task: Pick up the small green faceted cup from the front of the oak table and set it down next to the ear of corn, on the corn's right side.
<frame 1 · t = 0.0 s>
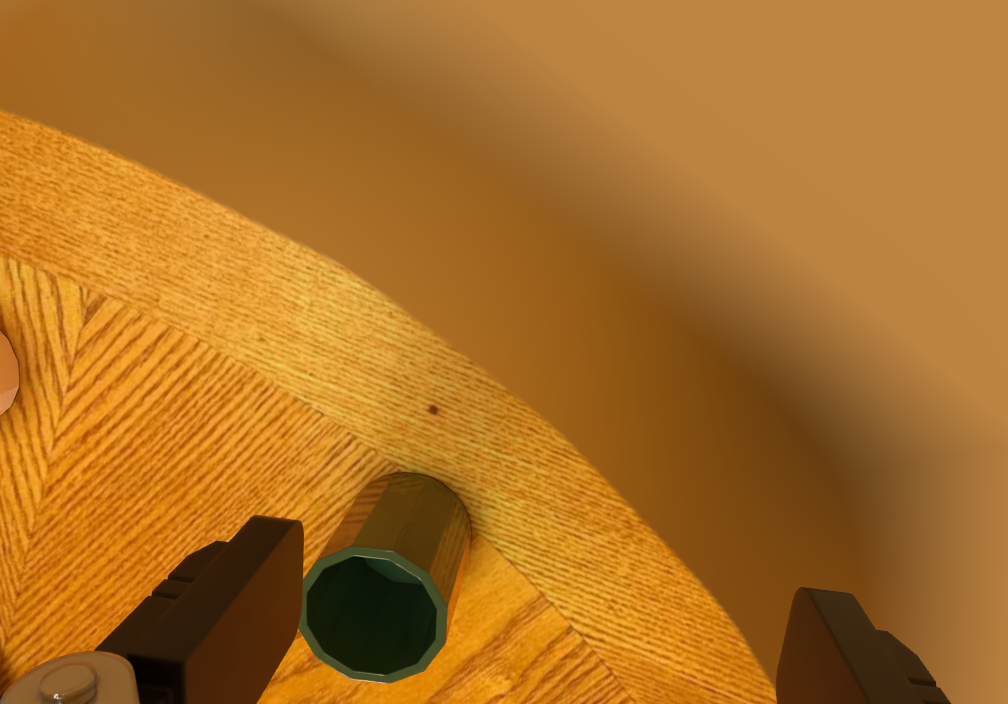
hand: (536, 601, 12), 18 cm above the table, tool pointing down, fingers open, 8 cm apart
green faceted cup: (410, 529, 32), on the table
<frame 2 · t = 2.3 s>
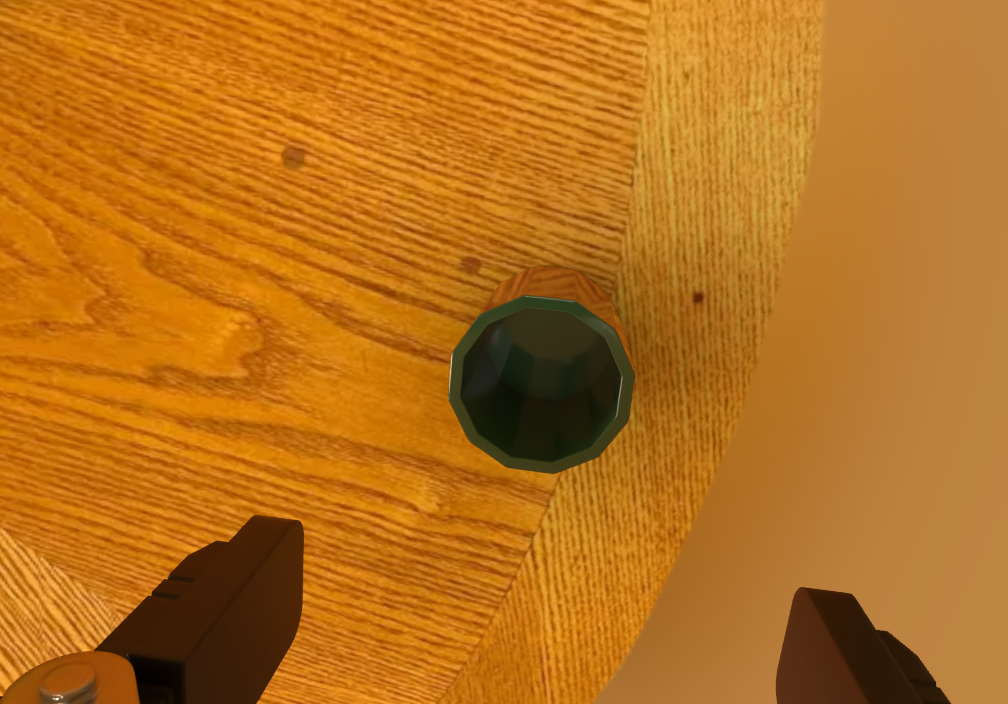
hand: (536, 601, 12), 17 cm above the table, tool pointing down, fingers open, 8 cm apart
green faceted cup: (549, 337, 28), on the table
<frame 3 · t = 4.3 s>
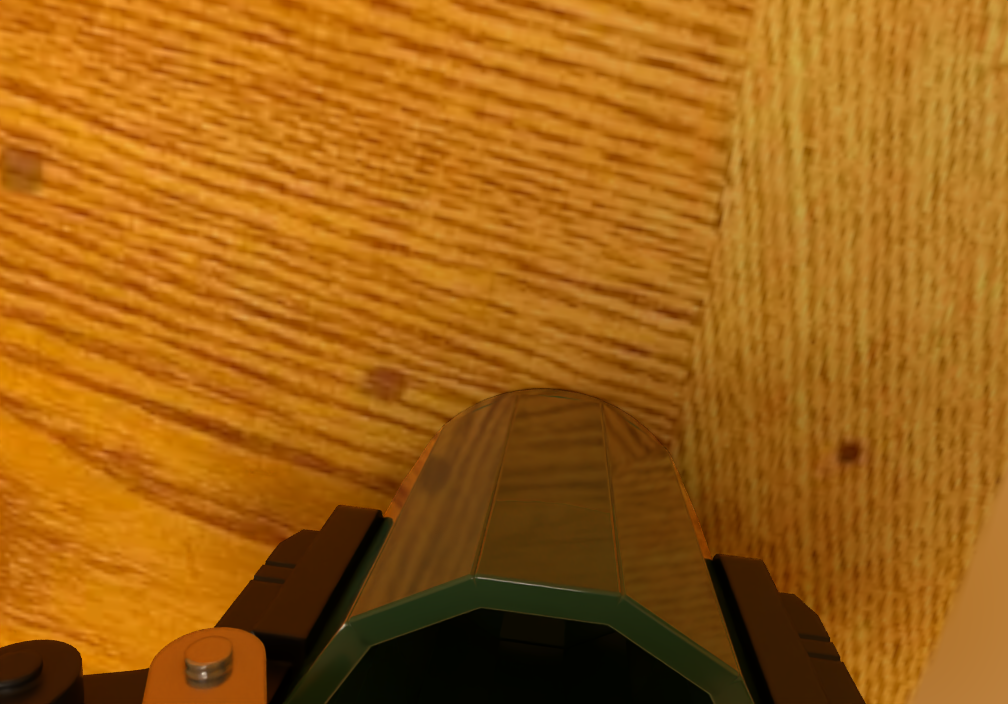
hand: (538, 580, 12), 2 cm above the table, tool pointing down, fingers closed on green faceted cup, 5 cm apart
green faceted cup: (544, 523, 14), on the table, touching gripper
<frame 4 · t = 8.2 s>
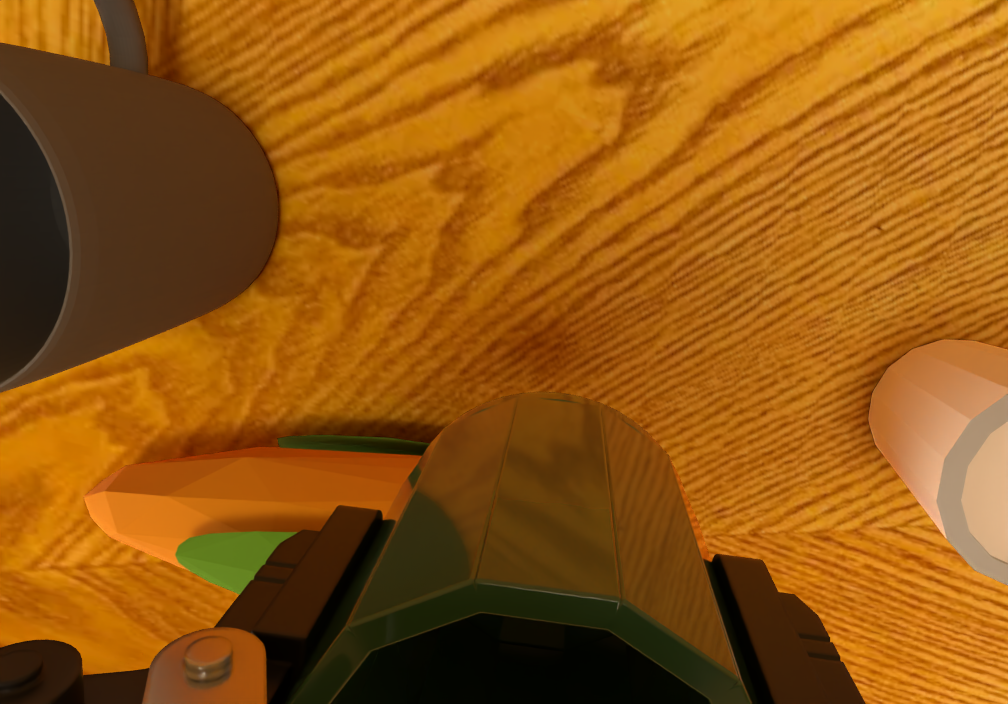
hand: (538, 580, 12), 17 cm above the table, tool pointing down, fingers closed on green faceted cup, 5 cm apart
mug: (177, 143, 28), on the table
green faceted cup: (544, 525, 14), point 15 cm above the table, touching gripper
corn: (361, 495, 31), on the table
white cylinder: (942, 408, 28), on the table
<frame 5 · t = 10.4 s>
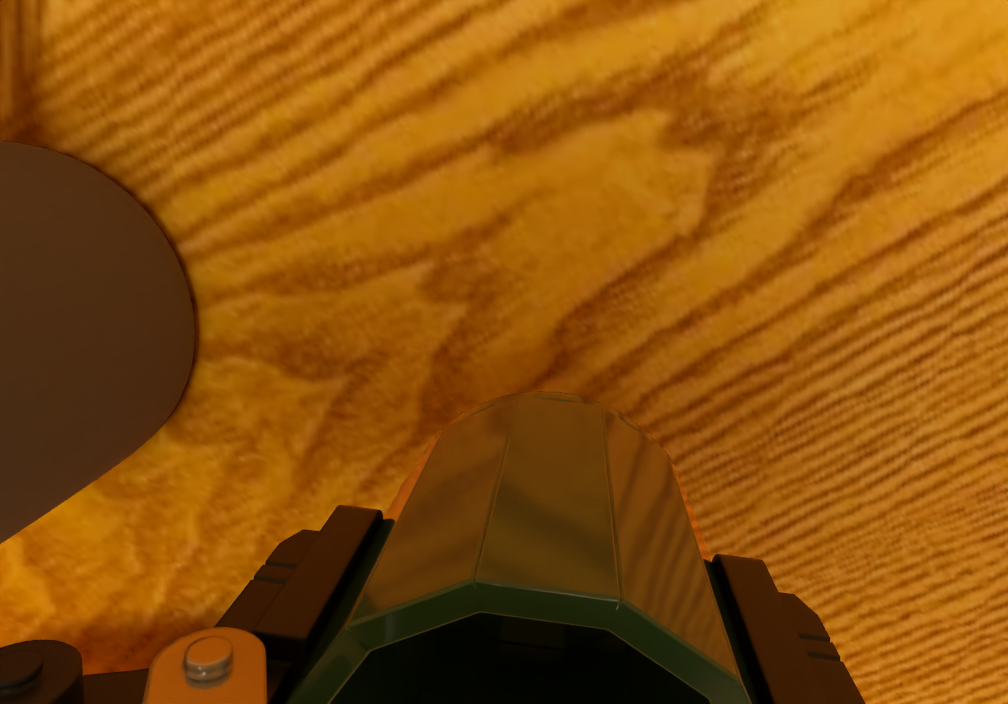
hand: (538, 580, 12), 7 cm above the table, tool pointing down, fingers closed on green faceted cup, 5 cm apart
mug: (46, 229, 19), on the table
green faceted cup: (544, 525, 14), point 5 cm above the table, touching gripper
when the fingers open (2 cm above the table, at t = 12.1 s): green faceted cup stays where it is, on the table.
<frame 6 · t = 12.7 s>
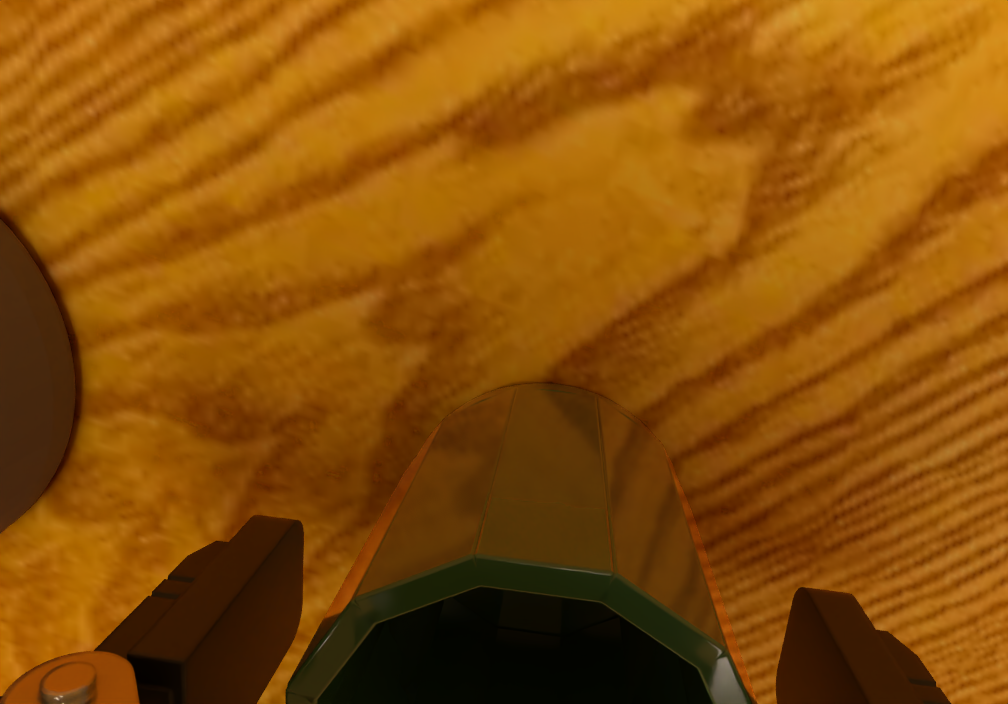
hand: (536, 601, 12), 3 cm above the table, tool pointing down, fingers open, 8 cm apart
green faceted cup: (542, 514, 15), on the table
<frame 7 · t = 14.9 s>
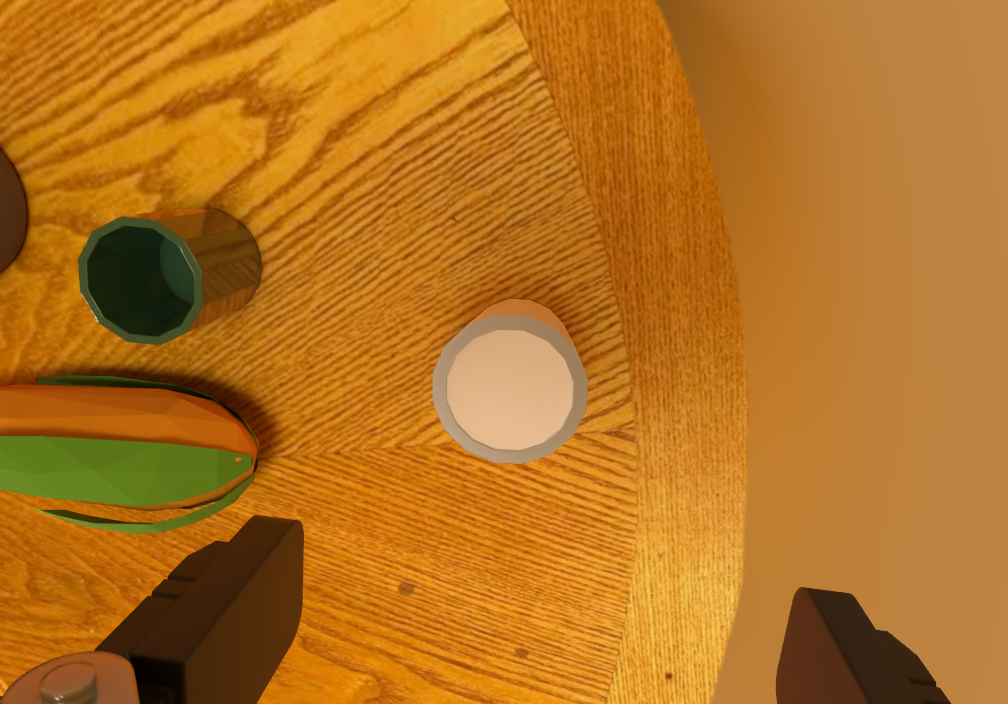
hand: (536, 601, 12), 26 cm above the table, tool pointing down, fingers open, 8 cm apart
green faceted cup: (209, 262, 38), on the table
corn: (111, 425, 41), on the table
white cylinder: (517, 350, 38), on the table
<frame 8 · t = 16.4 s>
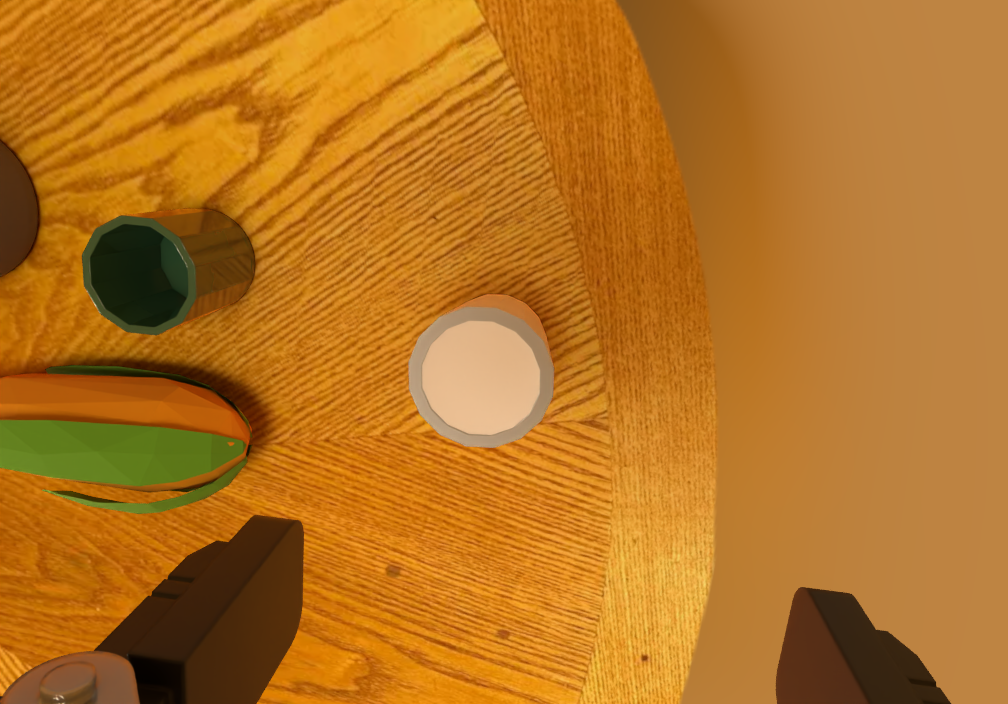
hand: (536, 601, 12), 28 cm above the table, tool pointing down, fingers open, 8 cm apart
green faceted cup: (206, 259, 40), on the table
corn: (115, 413, 43), on the table
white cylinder: (496, 342, 40), on the table
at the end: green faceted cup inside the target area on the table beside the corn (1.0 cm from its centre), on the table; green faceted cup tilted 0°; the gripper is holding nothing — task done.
